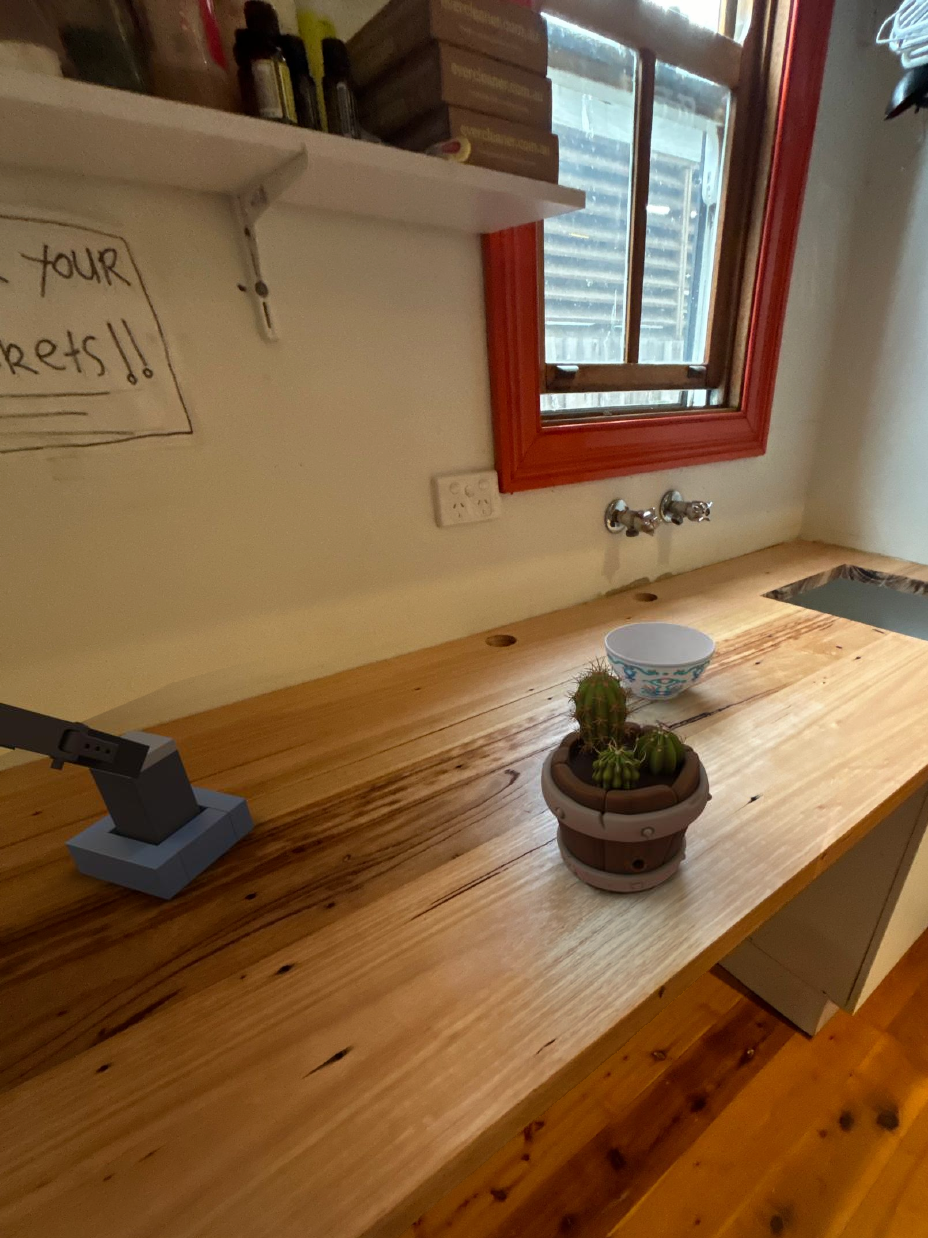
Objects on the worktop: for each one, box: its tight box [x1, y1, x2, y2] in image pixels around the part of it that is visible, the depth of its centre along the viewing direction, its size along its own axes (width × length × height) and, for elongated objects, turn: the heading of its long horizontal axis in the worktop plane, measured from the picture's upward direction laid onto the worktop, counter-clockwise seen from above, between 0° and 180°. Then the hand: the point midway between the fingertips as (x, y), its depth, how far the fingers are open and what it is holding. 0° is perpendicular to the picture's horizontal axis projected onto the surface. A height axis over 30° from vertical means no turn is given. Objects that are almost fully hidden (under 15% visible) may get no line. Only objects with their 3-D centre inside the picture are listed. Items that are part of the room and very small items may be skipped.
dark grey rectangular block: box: [87, 729, 201, 846], centre depth 60 cm, size 5×5×12 cm
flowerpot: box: [540, 654, 713, 895], centre depth 56 cm, size 14×15×20 cm
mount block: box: [64, 785, 255, 900], centre depth 62 cm, size 11×11×4 cm
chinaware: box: [604, 621, 716, 701], centre depth 90 cm, size 15×15×8 cm
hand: (77, 747), depth 52 cm, fingers open, 13 cm apart
